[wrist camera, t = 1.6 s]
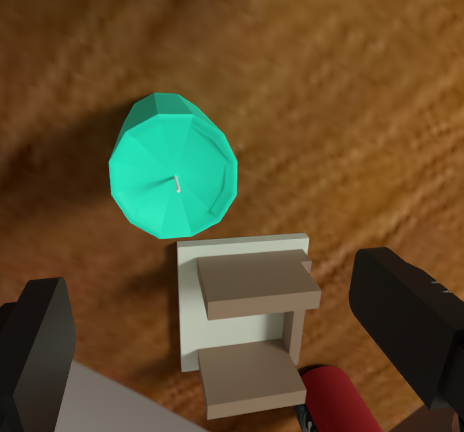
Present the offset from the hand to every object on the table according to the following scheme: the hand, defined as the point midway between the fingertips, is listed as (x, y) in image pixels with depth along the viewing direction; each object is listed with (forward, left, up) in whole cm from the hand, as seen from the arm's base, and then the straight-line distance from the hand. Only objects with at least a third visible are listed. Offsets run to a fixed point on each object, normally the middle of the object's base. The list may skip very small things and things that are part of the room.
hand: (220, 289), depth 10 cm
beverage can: (+26, +14, -18) cm, 35 cm away
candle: (-1, -1, -18) cm, 19 cm away
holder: (+14, +5, -18) cm, 24 cm away
